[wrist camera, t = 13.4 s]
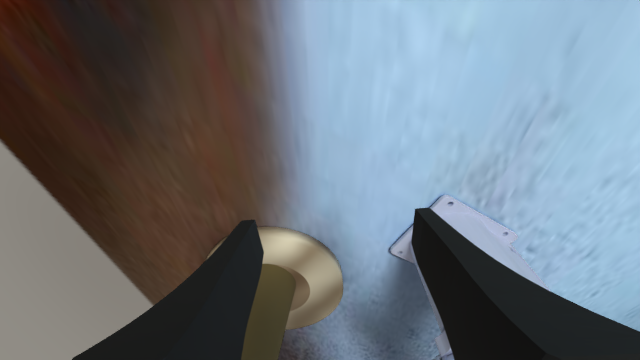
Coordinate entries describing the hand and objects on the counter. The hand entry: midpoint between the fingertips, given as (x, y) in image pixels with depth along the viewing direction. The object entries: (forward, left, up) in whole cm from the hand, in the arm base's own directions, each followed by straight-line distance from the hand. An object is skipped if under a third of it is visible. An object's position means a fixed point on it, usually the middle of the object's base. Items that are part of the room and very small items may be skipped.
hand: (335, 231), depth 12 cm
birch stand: (-3, +17, -10) cm, 20 cm away
